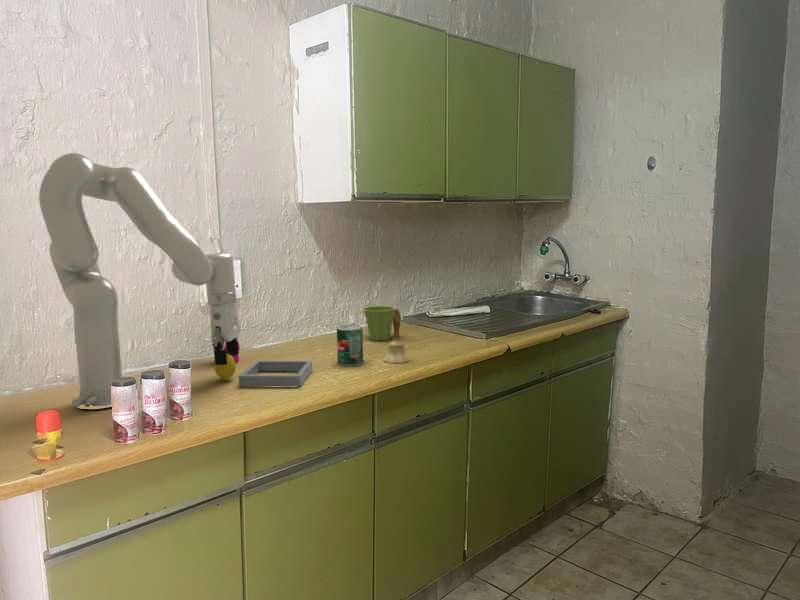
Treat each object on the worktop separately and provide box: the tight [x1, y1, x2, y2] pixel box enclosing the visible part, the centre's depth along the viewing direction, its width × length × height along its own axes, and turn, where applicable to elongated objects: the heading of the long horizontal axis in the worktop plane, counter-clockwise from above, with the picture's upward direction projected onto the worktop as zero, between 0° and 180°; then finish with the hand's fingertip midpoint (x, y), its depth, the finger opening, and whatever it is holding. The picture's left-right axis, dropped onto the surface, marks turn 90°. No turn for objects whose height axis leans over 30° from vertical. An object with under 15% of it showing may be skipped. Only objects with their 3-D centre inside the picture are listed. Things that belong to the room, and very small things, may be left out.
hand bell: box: [383, 308, 411, 364], centre depth 189 cm, size 8×8×16 cm
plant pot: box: [362, 305, 397, 342], centre depth 219 cm, size 12×12×11 cm
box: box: [238, 360, 313, 387], centre depth 171 cm, size 16×16×3 cm
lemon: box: [214, 354, 236, 380], centre depth 169 cm, size 6×6×8 cm
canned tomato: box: [336, 324, 364, 367], centre depth 187 cm, size 8×8×11 cm
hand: (227, 359), depth 170 cm, fingers open, 9 cm apart
